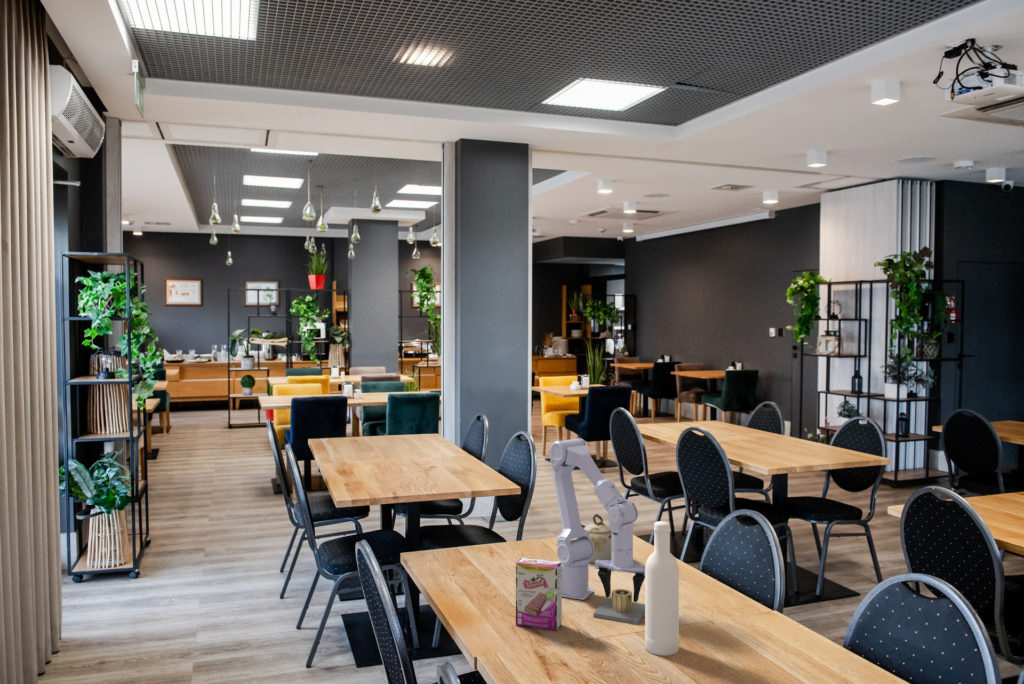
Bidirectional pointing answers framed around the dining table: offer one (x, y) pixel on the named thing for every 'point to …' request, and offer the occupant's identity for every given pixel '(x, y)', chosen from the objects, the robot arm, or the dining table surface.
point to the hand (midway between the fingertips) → (621, 598)
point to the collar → (621, 601)
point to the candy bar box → (539, 593)
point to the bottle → (662, 595)
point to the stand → (630, 617)
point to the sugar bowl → (599, 539)
